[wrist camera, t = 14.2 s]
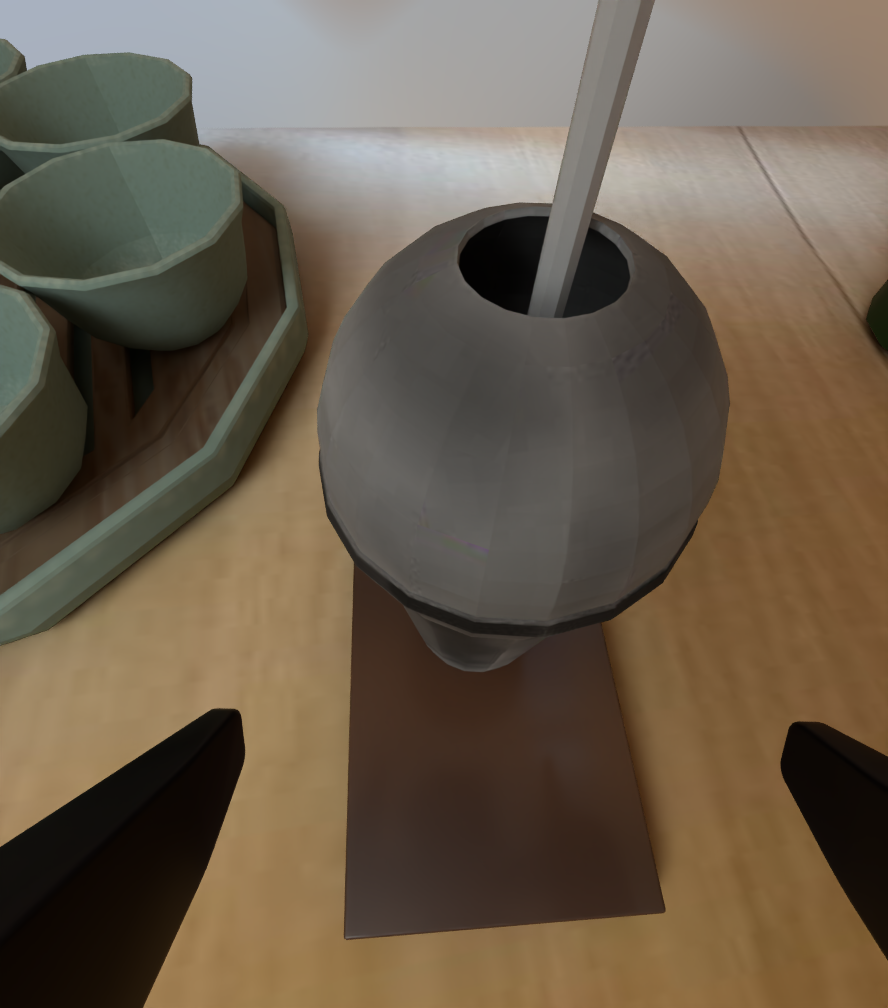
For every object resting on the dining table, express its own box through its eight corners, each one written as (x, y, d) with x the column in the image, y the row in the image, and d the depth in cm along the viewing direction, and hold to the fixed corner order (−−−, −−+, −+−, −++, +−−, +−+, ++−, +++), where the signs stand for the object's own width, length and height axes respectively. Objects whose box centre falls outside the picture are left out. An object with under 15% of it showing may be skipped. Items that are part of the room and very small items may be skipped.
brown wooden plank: (649, 901, 16) (667, 913, 15) (351, 926, 16) (343, 941, 15) (548, 428, 26) (553, 410, 24) (362, 438, 25) (357, 420, 24)
